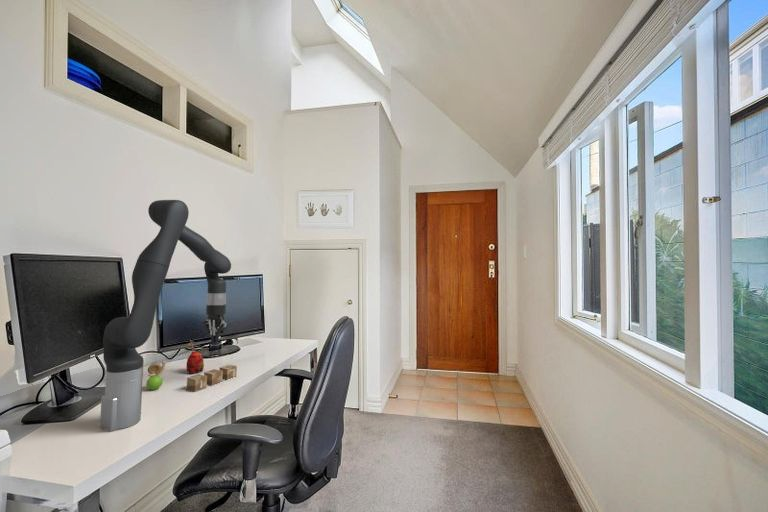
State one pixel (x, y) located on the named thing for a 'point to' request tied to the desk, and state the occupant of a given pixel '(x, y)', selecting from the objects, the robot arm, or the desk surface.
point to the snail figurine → (155, 375)
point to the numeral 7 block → (229, 371)
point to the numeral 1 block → (196, 382)
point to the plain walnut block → (214, 376)
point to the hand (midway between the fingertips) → (214, 343)
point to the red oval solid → (194, 362)
